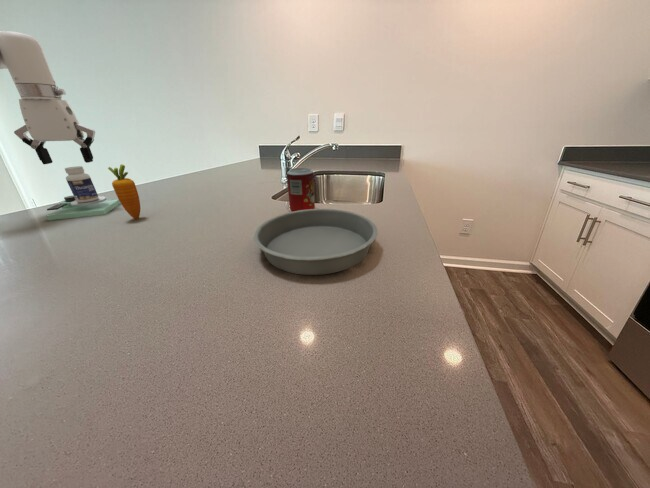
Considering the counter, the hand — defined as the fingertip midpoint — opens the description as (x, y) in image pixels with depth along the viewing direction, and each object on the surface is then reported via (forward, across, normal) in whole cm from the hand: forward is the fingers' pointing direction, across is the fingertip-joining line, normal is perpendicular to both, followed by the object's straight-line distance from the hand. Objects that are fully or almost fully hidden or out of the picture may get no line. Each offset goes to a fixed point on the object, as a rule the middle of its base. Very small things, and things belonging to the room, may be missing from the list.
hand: (69, 162), depth 73 cm
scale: (+15, +1, -1) cm, 15 cm away
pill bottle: (+11, -1, 0) cm, 11 cm away
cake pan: (+14, -60, +48) cm, 78 cm away
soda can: (+14, -62, +26) cm, 68 cm away
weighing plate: (+12, -1, 0) cm, 12 cm away
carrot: (+15, -17, +14) cm, 26 cm away
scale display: (+12, +6, +3) cm, 13 cm away
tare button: (+12, +6, -5) cm, 14 cm away
